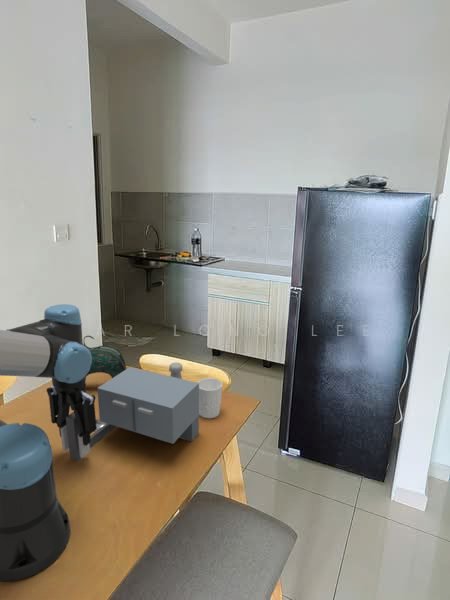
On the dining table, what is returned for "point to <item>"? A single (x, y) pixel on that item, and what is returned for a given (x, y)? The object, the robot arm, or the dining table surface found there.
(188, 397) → the cabinet
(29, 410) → the dining table surface
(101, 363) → the ceramic cat
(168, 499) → the dining table surface
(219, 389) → the white cup
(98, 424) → the steel token
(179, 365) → the salt shaker
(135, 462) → the dining table surface
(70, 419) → the l-shaped tool
